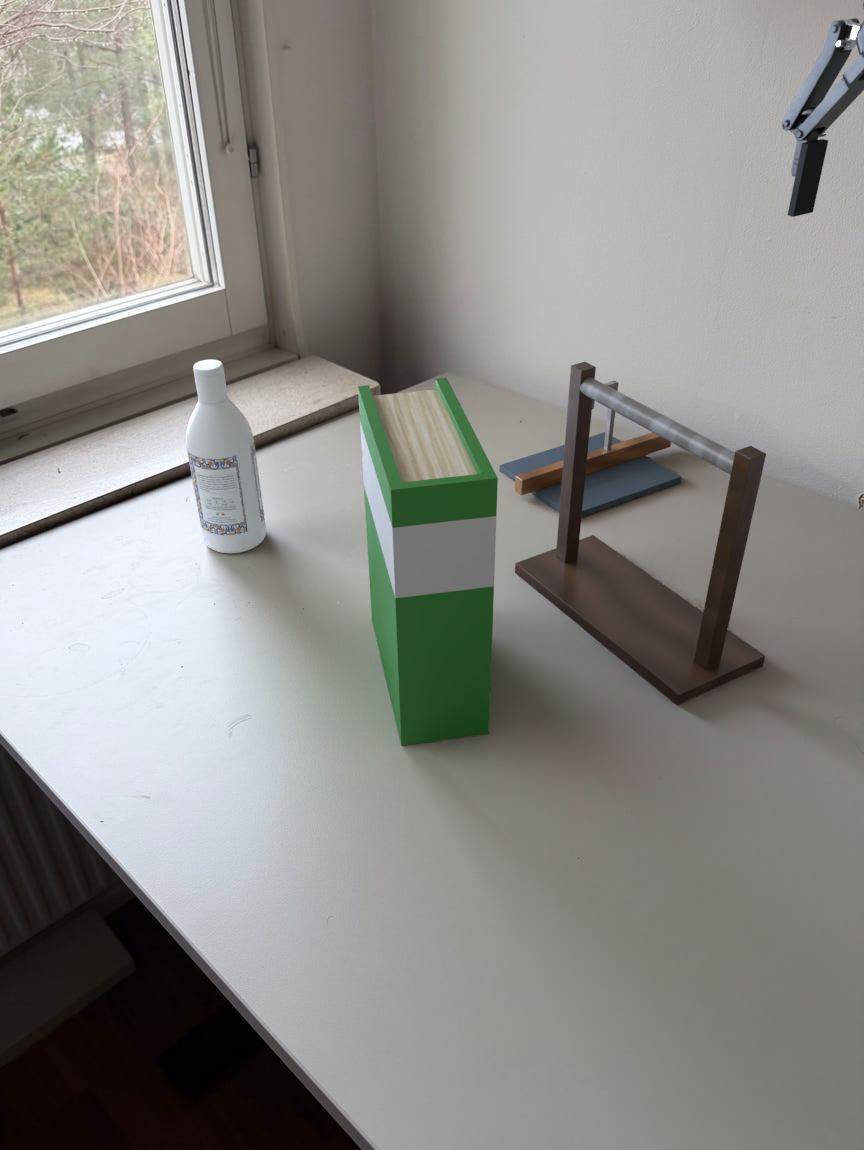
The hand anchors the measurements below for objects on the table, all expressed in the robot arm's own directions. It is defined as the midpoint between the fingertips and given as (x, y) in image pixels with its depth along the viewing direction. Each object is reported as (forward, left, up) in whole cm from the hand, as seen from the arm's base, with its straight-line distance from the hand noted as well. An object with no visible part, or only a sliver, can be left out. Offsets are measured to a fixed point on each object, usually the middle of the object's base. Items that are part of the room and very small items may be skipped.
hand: (856, 229), depth 92 cm
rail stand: (+30, +8, -29) cm, 42 cm away
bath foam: (+57, -26, -29) cm, 69 cm away
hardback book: (+51, +5, -29) cm, 59 cm away
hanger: (+15, -16, -28) cm, 36 cm away
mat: (+16, -16, -29) cm, 37 cm away
